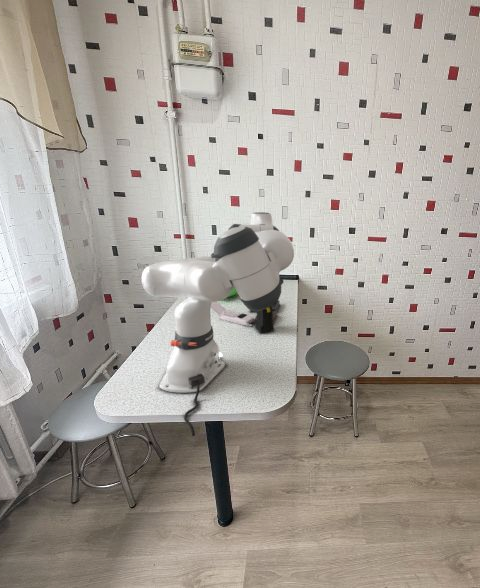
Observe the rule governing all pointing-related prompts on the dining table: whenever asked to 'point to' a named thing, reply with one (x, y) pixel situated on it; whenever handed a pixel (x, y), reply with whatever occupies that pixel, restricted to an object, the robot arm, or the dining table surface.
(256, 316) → the switch block
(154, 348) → the dining table surface
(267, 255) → the robot arm
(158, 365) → the dining table surface
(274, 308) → the black square tray
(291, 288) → the dining table surface
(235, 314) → the pale pink bent bar
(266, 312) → the portable radio
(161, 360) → the dining table surface
